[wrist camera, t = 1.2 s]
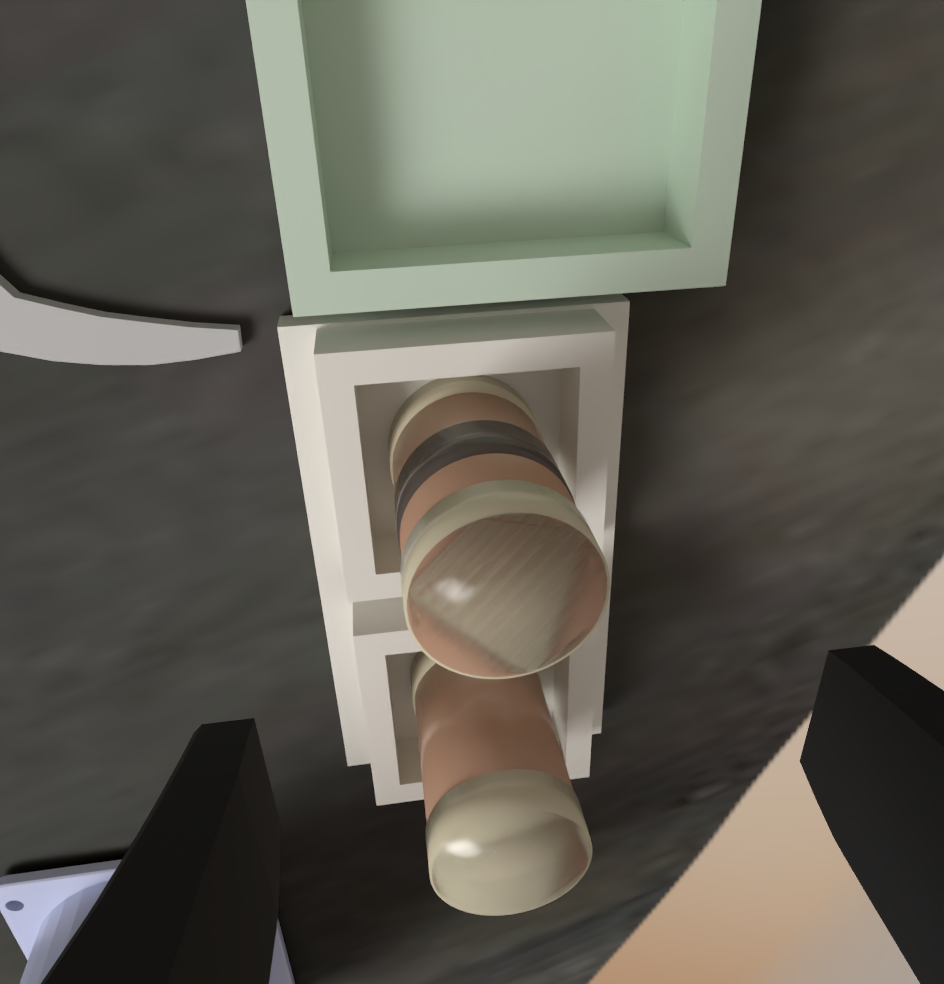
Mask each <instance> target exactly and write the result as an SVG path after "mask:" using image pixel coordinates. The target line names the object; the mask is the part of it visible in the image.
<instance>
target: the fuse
mask: <svg viewBox="0 0 944 984" xmlns="http://www.w3.org/2000/svg"><path fill="white" fill-rule="evenodd" d="M410 682H411V692H412V702H413V709H414V712H415V715H416V723H417V733H418V743H419V753H420V763H421V772H422V782H423V792H424V802H425V812H426V822H427V824H426V845H427V855H428V865H429V875H430V881H431V884H432V887H433V889H434V891H435V892H436V893H437V895H438V896H439V897H440V898H441V899H442V900H443V901H444V902H446V903H447V904H449V905H450V906H452V907H454V908H456V909H459V910H462V911H464V912H468V913H472V914H478V915H490V916H497V915H510V914H516V913H521V912H525V911H529V910H533V909H535V908H538V907H541V906H543V905H546V904H548V903H550V902H552V901H554V900H556V899H557V898H559V897H561V896H562V895H564V894H565V893H567V892H568V891H569V890H570V889H571V888H573V887H574V886H575V885H576V884H577V883H578V882H579V881H580V880H581V878H582V877H583V876H584V874H585V873H586V871H587V869H588V867H589V865H590V862H591V859H592V853H593V852H592V843H591V839H590V836H589V832H588V829H587V826H586V822H585V819H584V816H583V813H582V809H581V806H580V803H579V800H578V798H577V796H576V794H575V792H574V791H573V788H572V784H571V781H570V778H569V774H568V771H567V768H566V764H565V761H564V758H563V755H562V751H561V748H560V745H559V741H558V738H557V735H556V732H555V728H554V725H553V722H552V718H551V715H550V712H549V708H548V705H547V702H546V699H545V695H544V692H543V687H542V679H541V676H540V672H539V671H538V672H535V673H532V674H528V675H525V676H520V677H514V678H508V679H481V678H474V677H469V676H465V675H461V674H458V673H455V672H453V671H450V670H448V669H446V668H444V667H442V666H440V665H439V664H437V663H436V662H434V661H433V660H431V659H430V658H429V657H428V656H427V655H426V654H425V653H424V652H423V651H419V652H417V653H416V655H415V657H414V659H413V661H412V664H411V669H410Z"/></svg>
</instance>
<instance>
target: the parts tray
mask: <svg viewBox="0 0 944 984" xmlns="http://www.w3.org/2000/svg"><path fill="white" fill-rule="evenodd" d="M761 4H762V0H246V6H247V12H248V19H249V26H250V32H251V39H252V46H253V52H254V59H255V66H256V72H257V79H258V86H259V92H260V99H261V106H262V113H263V119H264V126H265V133H266V139H267V146H268V153H269V159H270V166H271V173H272V179H273V186H274V193H275V199H276V206H277V213H278V220H279V226H280V233H281V240H282V246H283V253H284V260H285V266H286V273H287V280H288V286H289V293H290V300H291V306H292V313H293V317H303V316H317V315H331V314H344V313H358V312H372V311H386V310H400V309H413V308H427V307H441V306H455V305H469V304H482V303H496V302H510V301H524V300H538V299H551V298H565V297H579V296H593V295H607V294H620V293H634V292H648V291H662V290H676V289H689V288H703V287H717V286H726V280H727V272H728V264H729V256H730V248H731V240H732V232H733V224H734V217H735V209H736V201H737V193H738V185H739V177H740V169H741V161H742V154H743V146H744V138H745V130H746V122H747V114H748V106H749V98H750V91H751V83H752V75H753V67H754V59H755V51H756V43H757V35H758V28H759V20H760V12H761Z"/></svg>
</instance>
